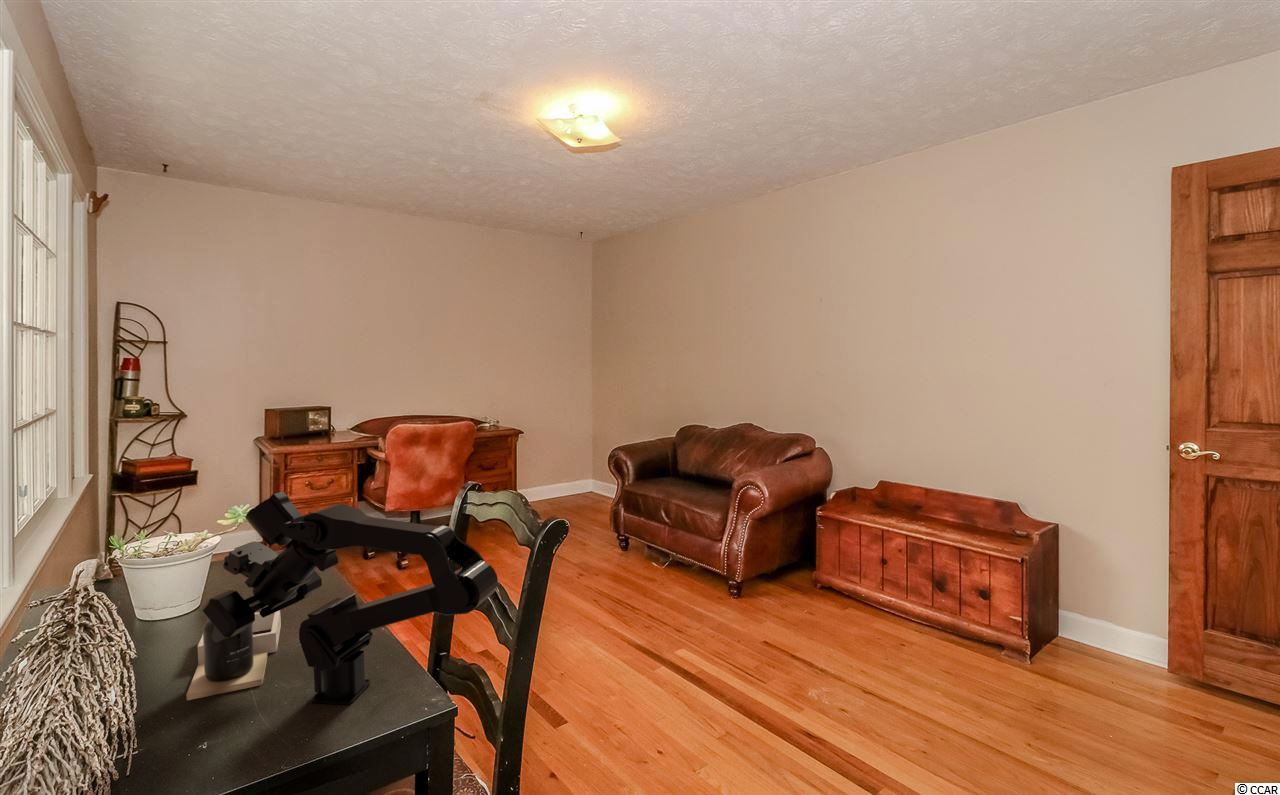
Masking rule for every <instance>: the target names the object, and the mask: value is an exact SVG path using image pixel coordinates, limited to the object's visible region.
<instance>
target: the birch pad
mask: <svg viewBox="0 0 1280 795" xmlns="http://www.w3.org/2000/svg"><path fill="white" fill-rule="evenodd" d="M253 656H254V658H253V659H254V663H253V667H252V669H251V670H250V671H249V672H248V673H246V674H244V675H242V676H240V677H238V678H235V679H231V680H227V681H210V680H208V679H207V678H206V677H205V672H204V664H201V665H197V667H196V669H195V672H194V675H193V678H192V680H191V682H190V685H189V688H188V690H187V692H186V701H191V700H197V699H202V698H205V697H209V696H214V695H216V696H217V695H220V694H224V693H225V694H226V693H229V692H235V691H239V690H244V689H248V688H253V687H254V688H255V687H258V686H263V682H264V678H265V672H266V668H267V667H266V666H267V663H268V662H267V661H268V653H267V652H265V653H259V654H254V655H253Z"/></svg>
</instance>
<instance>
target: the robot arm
mask: <svg viewBox="0 0 1280 795" xmlns="http://www.w3.org/2000/svg"><path fill="white" fill-rule="evenodd" d="M245 520H246V522H248V523H249V525H250V526H251V527H252V528H253V529H254V530H255V532H256V533H257V534H258V535H259V536H260V537H261V538H262V540H264V542H265V543H266V544H267V545H268V546H269V547H268V546H267V545H265V544H263V543H262V542H259V541H249V542H247V543H245V544H243V545H239V546H237V547H234V549H233V550H231V551H229V553H228V555H227V556H225V557H224V558H223V560H224V562H223V569H224V570H225V571H227V572H228V573H230V574H232V575H234V576H236V575H239V574H241V575H242V576H244V577H246V578H247V579H246V580H245V581H244V584H245V585H246V586H247V587H248V588H249V589H251V588H252V594H253V595H252V596H249V597H248V598H246V599H245V598H244V597H243V598H244V599H245V600H244V599H243V598H242V596H241V594H240V593H239V592H238V590H227V591H224V592H223V593H219V594H218V595H215V596H213V597H211V598H209V599H208V600H207V602H206V603H205V604H204V606H203V607H202V612H203V613H204V614H205V616H206V617H207V618H208V620H209V619H210V620H211V622H212V623H213V624H214V625H215V626H214V630H213V634H212V639H213V640H214V642H219V641H221V640H224V639H226V638H230V637H232V636H235V635H237V634H239V633H240V632H242V631H244V630H246V629H248V627H249V626H250V625H251V624H252V623H253V622H254V621H255V613H257V612H259V614H260V615H261V616H262V617H263V618H264V617H266V616H268V615H270V614H273V613H275V612H277V611H279V610H280V611H281V610H283V609H286V608H287V607H290V606H292V605H294V604H296V603H299V602H300V601H302V600H304V599H306V598H308V597H310V596H312V595H313V594H314V593H317V591H318V590H319V589H320V588H321V587H322V585H323V584H322V577H321V576H320V575H319V574H318V573H317V571H316V569H318V570H319V571H320V572H325V571H326V570H329V569H331V568H333V567H335V566H337V565H339V557H338V555H337V549H342V548H343V549H344V548H348V547H361V548H362V547H363V548H368V549H374V550H375V549H376V550H382V551H387V552H388V551H389V552H393V553H394V552H396V553H402V554H408V555H414V556H415V555H416V556H421V558H422V560H424V562H425V563H426V566H427V568H428V572H429V575H430V579H431V582H432V583H428V584H425V585H421V586H418V587H415V588H410V589H408V590H405V591H401V592H398V593H394V594H391V595H387V596H385V597H380V598H376V599H373V600H370V601H367V602H360V601H357V597H356V593H353V594H351V595H349V596H347V597H343V598H342V597H336V598H334V599H332V600H331V601H329V602H328V603H326V604H323V605H322V606H320V607H318V608H317V609H315V610H313V611H312V612H310V613H308V614H307V617H308V618H307V619H305V620H303V621H302V622H301V623H300V627H299V629H298V641H299V643H300V647H301V649H302V652H303V655H304V657H305V660H306V663H307V666H308V667H309V668H313V689H314V690H313V691H314V693H315V694H314V695H313V696H312V697H311V698H310V702H311V703H313V704H314V703H315V704H335V705H350V704H353V702H354V701H355V700H356V699H357V698H358V697H359V696H360V695H361V694H362V693H363V692H364V690H365V689H366V688H367V687H368V686H369V685H370V684H371V679H368V678H366V672H365V671H366V668H365V667H366V666H365V665H366V664H365V650H362V649H365V648H366V647H368V646H369V645H371V641H372V638H373V635H374V634H373V632H372V630H376V629H379V628H382V627H386V626H390V625H393V624H396V623H400V622H403V621H408V620H411V619H414V618H417V617H420V616H421V617H422V616H425V615H428V614H431V613H437V614H439V615H440V614H441V615H444V616H454V615H455V616H457V615H467V614H470V613H471V612H473V611H474V610H475V609H476V608H477V607H479V606H480V605H482V603H483V602H484V601H486V600H487V599H488V598H490V596H491V595H493V594H494V593H495V592H496V589H497V588H498V584H499V583H498V582H499V581H498V575H497V573H496V570H495V568H494V567H492V565H491V564H489V563H487V562H486V561H485V559H484V558H483V557H482V555H481V554H480V553H479V551H477V550H476V549H475V548H474V547H472V546H471V545H469V544H468V543H466V542H465V541H463V540H461V539H460V538H459V537H458V535H457V534H456V533H455V532H454V530H453V529H452V528H451V527H450V526H448V525H432V524H431V525H429V524H423V523H416V522H408V521H401V520H394V519H387V518H380V517H373V516H370V515H367V514H366V513H364V511H362V510H361V509H360V508H358V507H357V508H356V507H353V506H351V505H348V504H345V503H335V504H333V505H330V506H327V507H324V508H322V509H319V510H317V511H312V512H309V513H307V514H304V515H303V514H302V513H301V512H300V510H298V508H296V506H295V505H294V504H293V502H292V501H291V500H290V499H289V496H288V495H287V494H286V493H285V491H280V492H276V493H272V494H271V496H270V497H269V498H267V499H265V500H263V501H262V502H260V503H259V504H257V505H256V506H255V507H252V508H250V510H248V512H247V513H246V515H245ZM273 545H277V546H278V547H282V546H284V545H286V546H285V547H284V548H283V549H282V550H281V552H280V553H279V554H278V553H277V552H276V551H275V550H273V549H272V548H270V547H272V546H273ZM449 560H451V561H453V562H454V563H456V564H457V565H459V566H460V567H461V568H459V569H457V570H455V571H454V570H453V568H452V566H451V564H450V561H449Z"/></svg>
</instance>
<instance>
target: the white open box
mask: <svg viewBox="0 0 1280 795" xmlns="http://www.w3.org/2000/svg"><path fill="white" fill-rule="evenodd" d="M259 612H260V611H257V612H255V621H254V622H253V633H257V632H262V631H269V630H270V631H269V632H265V633H258V634H253V655H254V654H259V653H265V652H267V654H272V653H276V652H278V644H279V639H280V633H281V624H282V623H281V621H282V620H281V618H282V617H281V610H279V611H277V612H275V613H273V614H270V615H268V616H266V617H264V618H263V617H262V616H261V615H260V614H259ZM197 662H198V665H201V664H204V644H203V634H202V636H201V638H200V640H199V642H198V644H197ZM198 665H197V666H198Z"/></svg>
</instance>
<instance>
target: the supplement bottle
mask: <svg viewBox="0 0 1280 795" xmlns="http://www.w3.org/2000/svg"><path fill="white" fill-rule="evenodd" d="M241 597H242V596H241ZM242 598H243V599H244V600H245V598H244V597H242ZM214 626H215V625H214V624H213V623H212V622H211V620H210V619H209V618H208V620H207V621H206V622H205V623H204V625H203V628H202V635H203V644H204V672H205V677H206V678H207V679H208V680H210V681H227V680H231V679H235V678H238V677H240V676H242V675H244V674H246V673H248V672H249V671H250V670H251V669H252V667H253V663H254V659H253V658H254V656H253V635H254V632H253V623H252V624H251V625H250V626H249V627H248V629H246V630H244V631H242V632H240V633H239V634H237V635H235V636H232V637H230V638H226V639H224V640H221V641H219V642H214V640H213V639H212V634H213V630H214Z"/></svg>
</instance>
